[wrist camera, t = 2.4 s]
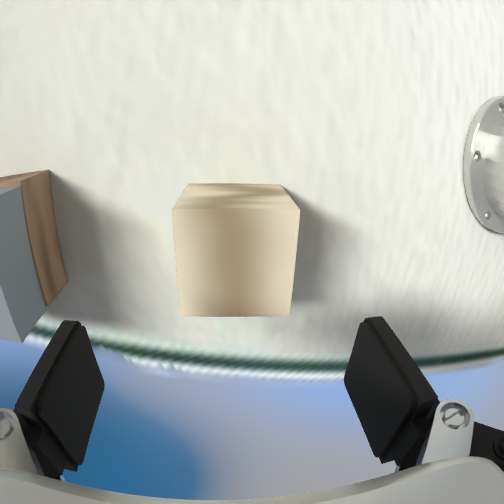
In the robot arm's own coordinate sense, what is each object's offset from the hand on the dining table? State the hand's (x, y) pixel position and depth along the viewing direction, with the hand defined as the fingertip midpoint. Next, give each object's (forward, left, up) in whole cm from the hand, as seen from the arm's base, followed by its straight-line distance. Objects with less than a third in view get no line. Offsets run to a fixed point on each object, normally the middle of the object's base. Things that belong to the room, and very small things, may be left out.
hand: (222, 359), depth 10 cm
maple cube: (-1, 0, -12) cm, 12 cm away
